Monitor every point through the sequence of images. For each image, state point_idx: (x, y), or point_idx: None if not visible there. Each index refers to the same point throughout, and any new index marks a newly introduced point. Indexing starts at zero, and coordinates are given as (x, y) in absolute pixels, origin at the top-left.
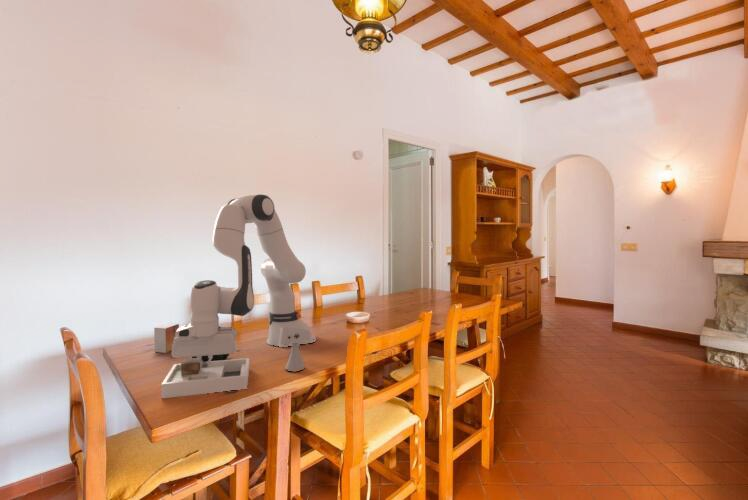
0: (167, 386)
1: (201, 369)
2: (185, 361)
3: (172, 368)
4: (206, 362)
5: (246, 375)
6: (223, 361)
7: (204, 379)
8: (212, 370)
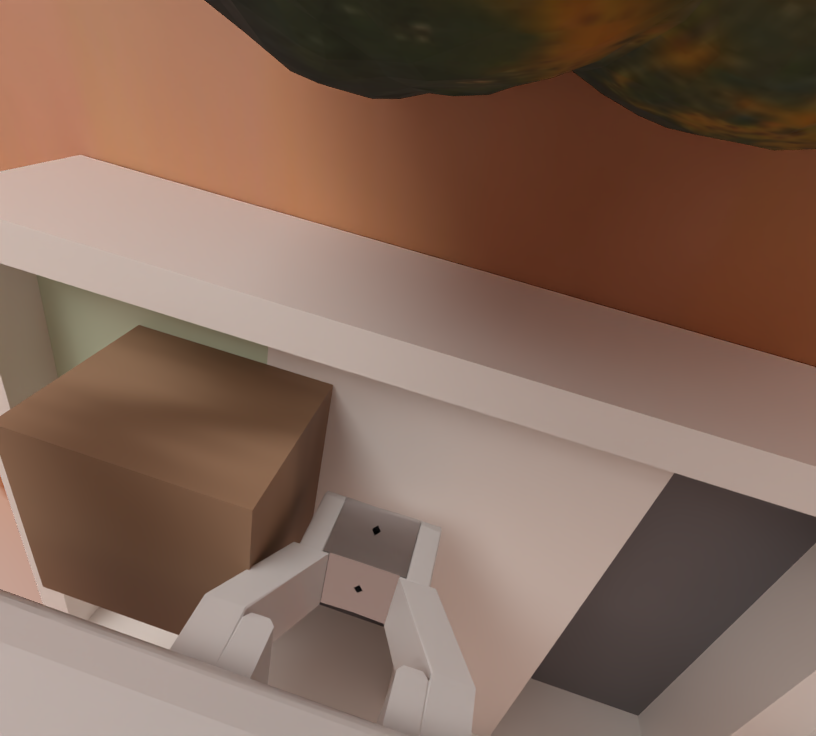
0: None
1: (351, 420)
2: (62, 540)
3: None
4: (378, 597)
5: None
6: (702, 474)
7: None
8: (479, 519)
